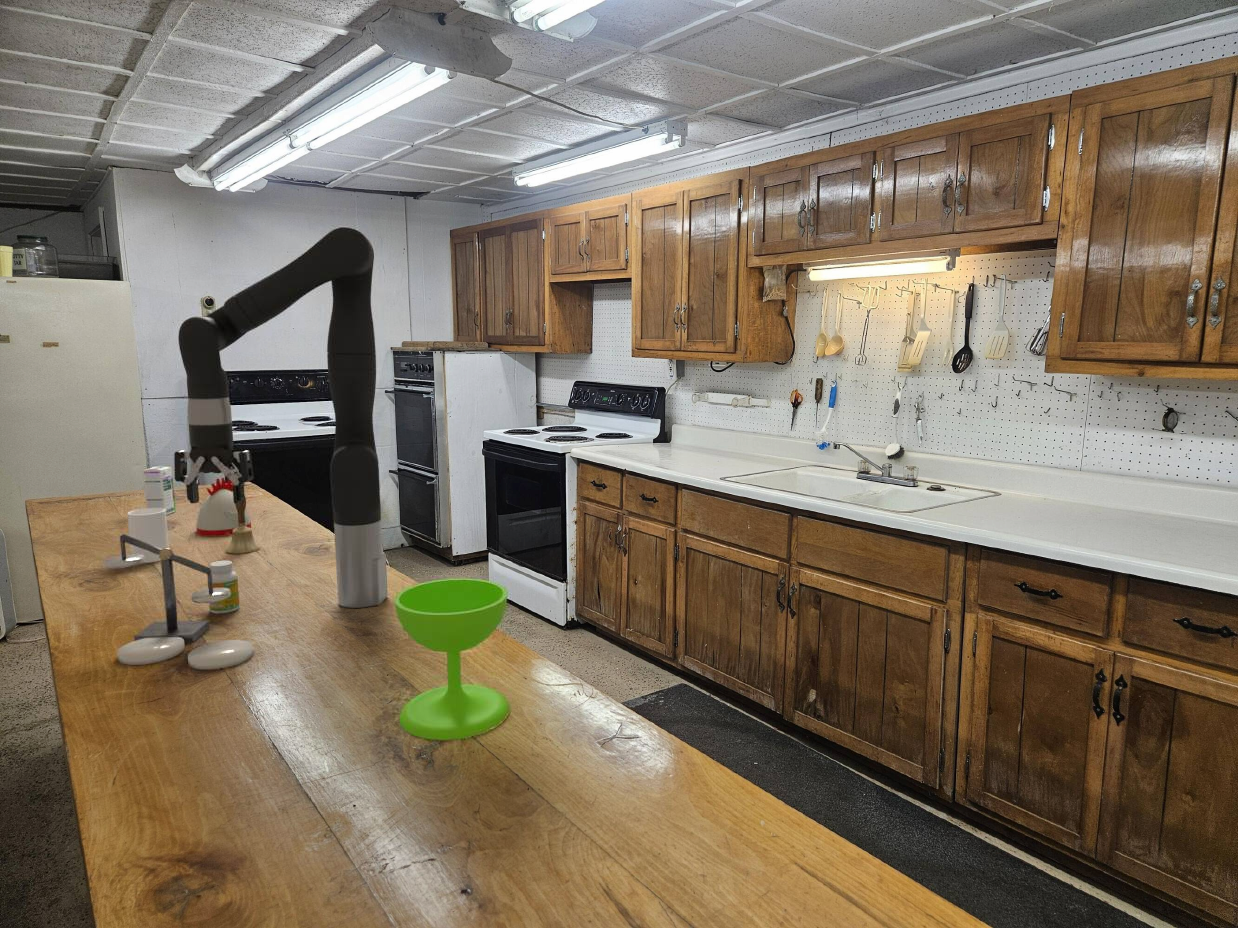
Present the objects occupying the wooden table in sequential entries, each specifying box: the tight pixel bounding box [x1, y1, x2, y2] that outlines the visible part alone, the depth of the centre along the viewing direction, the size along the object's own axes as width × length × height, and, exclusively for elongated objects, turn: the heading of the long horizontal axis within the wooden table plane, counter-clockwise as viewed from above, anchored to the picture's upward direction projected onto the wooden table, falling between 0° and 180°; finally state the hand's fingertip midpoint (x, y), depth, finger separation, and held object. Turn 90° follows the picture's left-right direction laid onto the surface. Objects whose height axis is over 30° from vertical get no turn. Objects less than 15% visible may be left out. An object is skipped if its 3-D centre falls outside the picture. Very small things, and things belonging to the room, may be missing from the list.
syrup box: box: [142, 465, 177, 516], centre depth 240 cm, size 6×6×14 cm
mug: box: [127, 507, 170, 564], centre depth 194 cm, size 12×8×12 cm
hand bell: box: [225, 496, 262, 555], centre depth 200 cm, size 8×8×16 cm
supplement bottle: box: [207, 560, 240, 614], centre depth 157 cm, size 5×5×10 cm
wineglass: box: [393, 577, 511, 741], centre depth 113 cm, size 16×16×18 cm
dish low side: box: [187, 639, 254, 671], centre depth 134 cm, size 10×10×1 cm
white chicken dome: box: [196, 477, 252, 537], centre depth 221 cm, size 14×14×15 cm
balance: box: [102, 533, 231, 644], centre depth 142 cm, size 21×7×19 cm, turn 95°
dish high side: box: [117, 636, 186, 666], centre depth 136 cm, size 10×10×1 cm
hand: (216, 502), depth 154 cm, fingers open, 8 cm apart
